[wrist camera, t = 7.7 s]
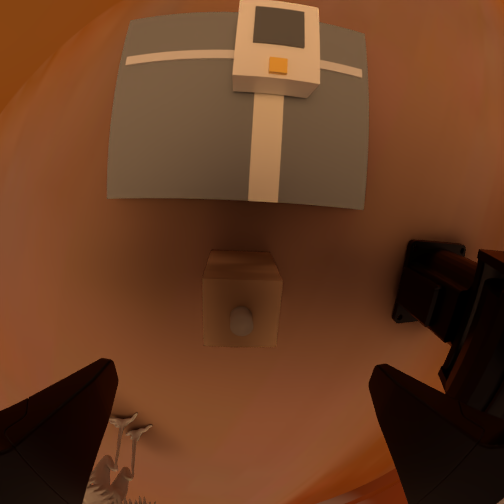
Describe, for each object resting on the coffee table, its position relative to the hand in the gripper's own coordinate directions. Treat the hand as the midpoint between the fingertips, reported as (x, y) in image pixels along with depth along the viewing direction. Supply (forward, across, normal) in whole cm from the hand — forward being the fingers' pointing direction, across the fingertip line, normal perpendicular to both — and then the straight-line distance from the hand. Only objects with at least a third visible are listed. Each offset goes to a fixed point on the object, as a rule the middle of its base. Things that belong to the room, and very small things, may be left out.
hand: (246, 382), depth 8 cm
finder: (+8, -1, -14) cm, 16 cm away
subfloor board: (+10, +1, -11) cm, 15 cm away
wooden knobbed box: (+10, 0, 0) cm, 10 cm away
